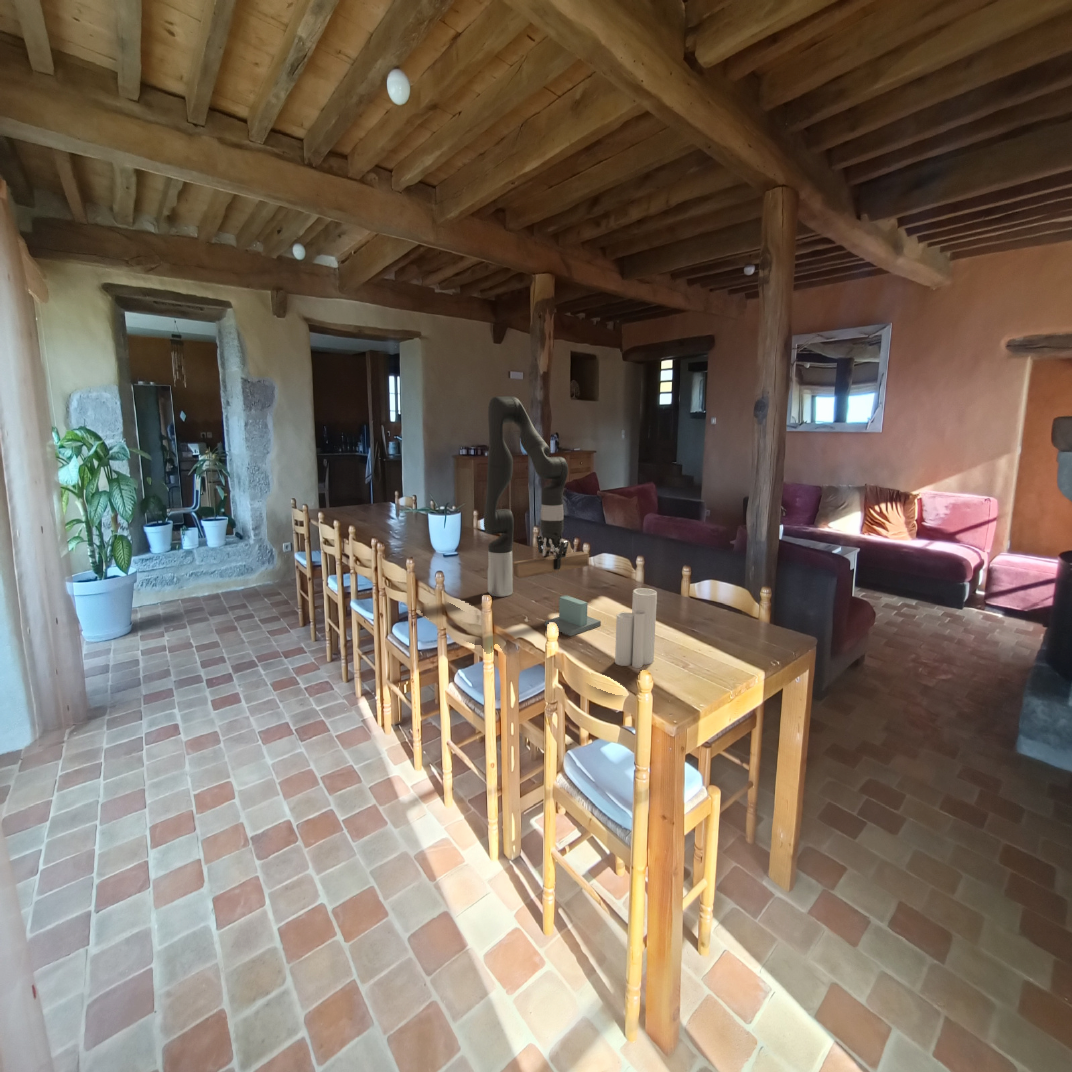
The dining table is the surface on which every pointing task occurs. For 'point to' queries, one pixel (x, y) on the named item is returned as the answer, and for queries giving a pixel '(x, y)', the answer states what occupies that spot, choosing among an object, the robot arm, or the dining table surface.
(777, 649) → the dining table surface
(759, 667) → the dining table surface
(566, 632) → the stand
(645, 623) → the grey joined cylinders
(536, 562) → the walnut rod
